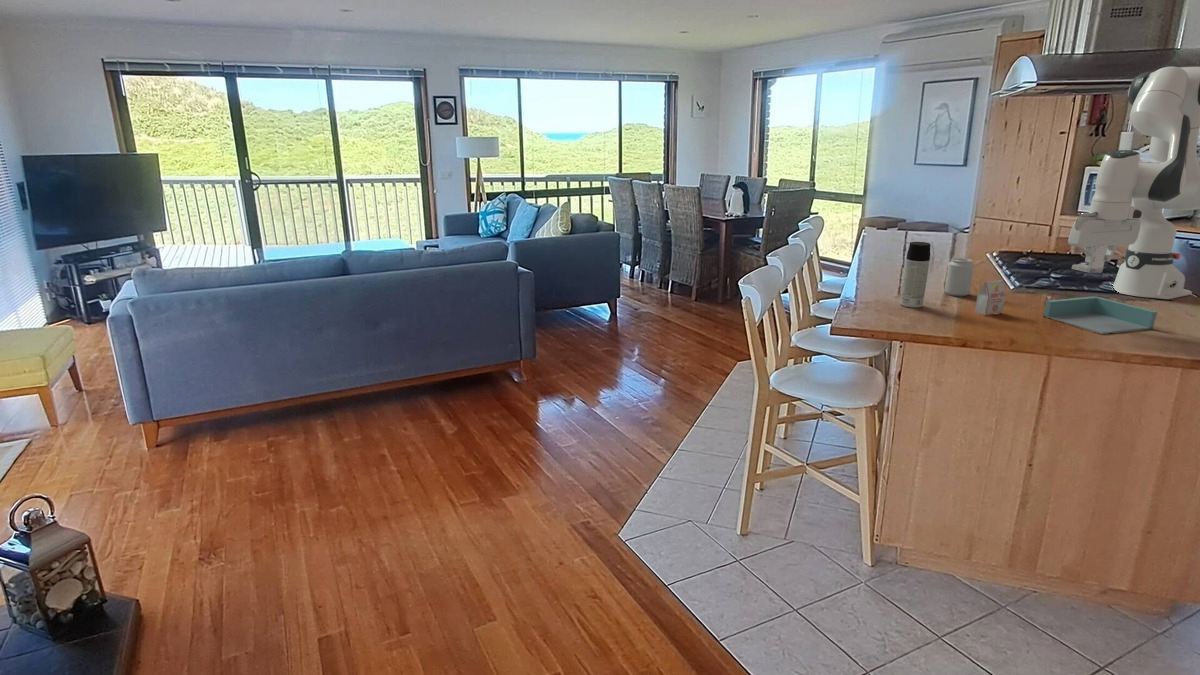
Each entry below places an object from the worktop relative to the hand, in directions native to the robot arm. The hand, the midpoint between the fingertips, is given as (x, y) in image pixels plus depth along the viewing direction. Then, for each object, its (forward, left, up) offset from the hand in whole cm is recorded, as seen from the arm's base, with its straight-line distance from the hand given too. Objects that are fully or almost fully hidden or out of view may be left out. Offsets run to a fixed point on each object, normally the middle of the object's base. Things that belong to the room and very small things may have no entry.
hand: (1097, 261), depth 183 cm
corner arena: (-2, +2, -18) cm, 18 cm away
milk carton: (+19, -15, -18) cm, 30 cm away
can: (+11, -37, -18) cm, 42 cm away
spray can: (+35, -29, -18) cm, 49 cm away
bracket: (0, -2, -3) cm, 4 cm away
